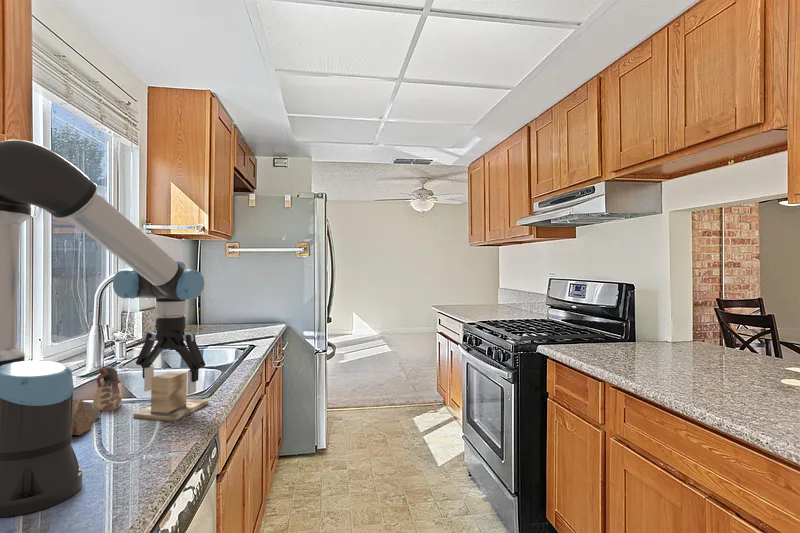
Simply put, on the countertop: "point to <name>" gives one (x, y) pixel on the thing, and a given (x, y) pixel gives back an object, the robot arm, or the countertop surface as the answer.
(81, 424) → the stone
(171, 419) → the board
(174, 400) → the block
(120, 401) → the figurine
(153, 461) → the countertop surface
